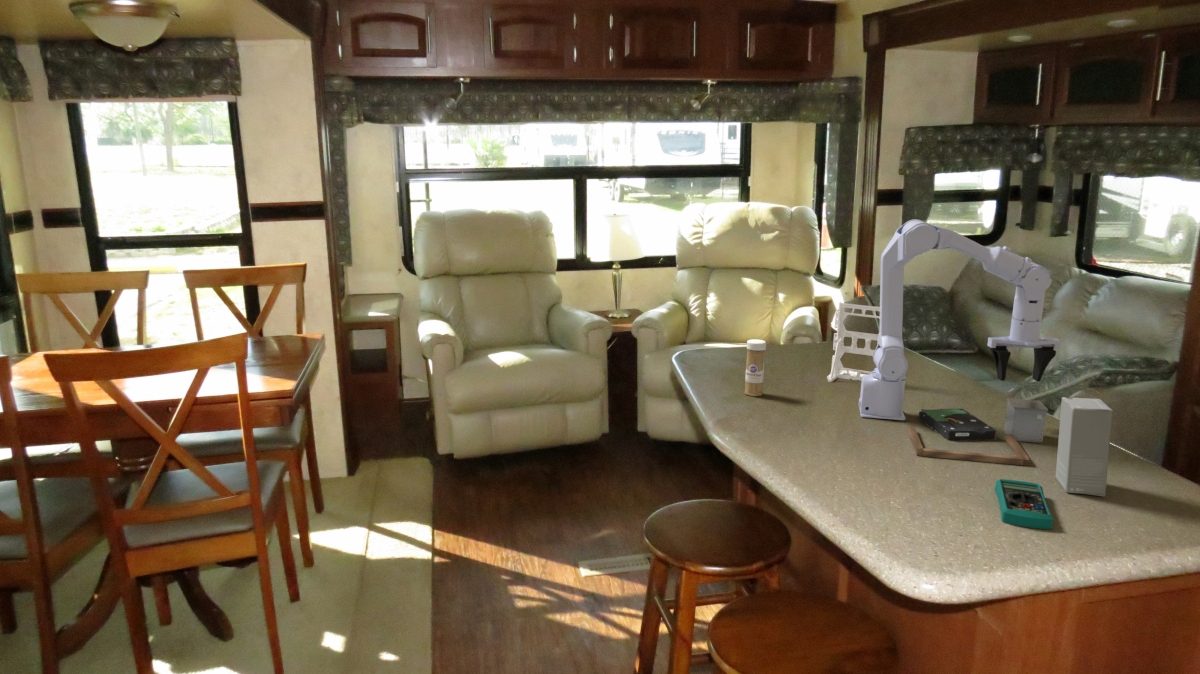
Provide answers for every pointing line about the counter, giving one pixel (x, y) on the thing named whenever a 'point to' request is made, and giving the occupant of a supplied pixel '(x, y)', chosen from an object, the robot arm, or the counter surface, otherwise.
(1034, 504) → the digital multimeter
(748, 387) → the sprinkles bottle
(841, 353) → the white open rack frame
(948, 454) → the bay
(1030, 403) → the junction box
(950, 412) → the disk drive
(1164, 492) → the counter surface
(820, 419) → the counter surface
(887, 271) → the robot arm
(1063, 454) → the skincare box
